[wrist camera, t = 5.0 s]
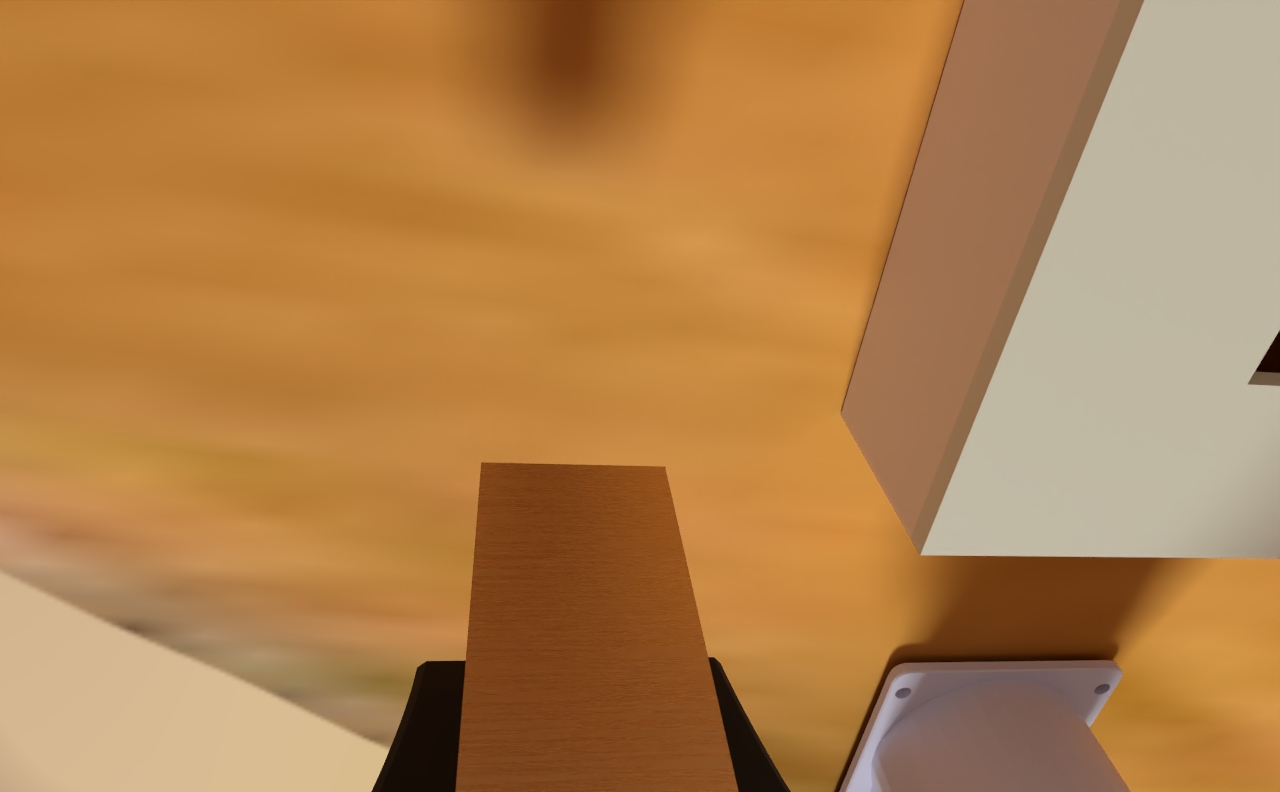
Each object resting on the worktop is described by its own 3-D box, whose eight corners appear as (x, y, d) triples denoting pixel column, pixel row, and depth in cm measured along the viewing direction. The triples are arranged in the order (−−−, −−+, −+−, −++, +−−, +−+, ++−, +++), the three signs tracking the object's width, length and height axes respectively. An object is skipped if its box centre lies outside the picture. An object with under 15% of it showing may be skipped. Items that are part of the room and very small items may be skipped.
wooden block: (626, 700, 14) (668, 1053, 10) (477, 704, 14) (454, 1072, 10) (665, 466, 11) (743, 811, 7) (481, 462, 11) (452, 825, 7)
